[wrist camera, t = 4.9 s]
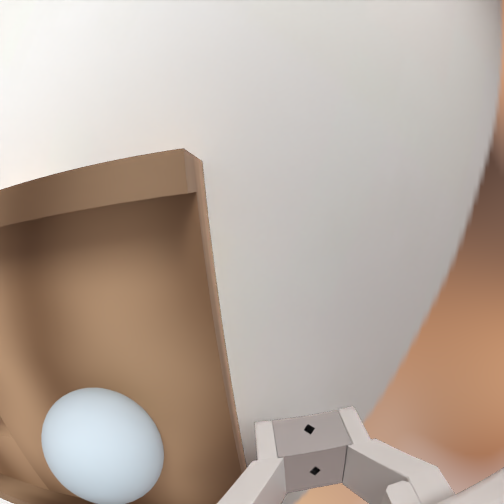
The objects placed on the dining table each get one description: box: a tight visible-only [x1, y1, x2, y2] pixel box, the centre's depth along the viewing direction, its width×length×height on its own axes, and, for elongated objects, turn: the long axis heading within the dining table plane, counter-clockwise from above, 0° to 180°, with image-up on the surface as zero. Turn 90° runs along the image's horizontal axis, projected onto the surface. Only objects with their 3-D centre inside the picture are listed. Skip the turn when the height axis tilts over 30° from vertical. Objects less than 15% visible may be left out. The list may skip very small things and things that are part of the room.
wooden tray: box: [0, 148, 247, 504], centre depth 10 cm, size 20×16×4 cm
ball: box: [41, 388, 164, 504], centre depth 8 cm, size 4×4×4 cm
